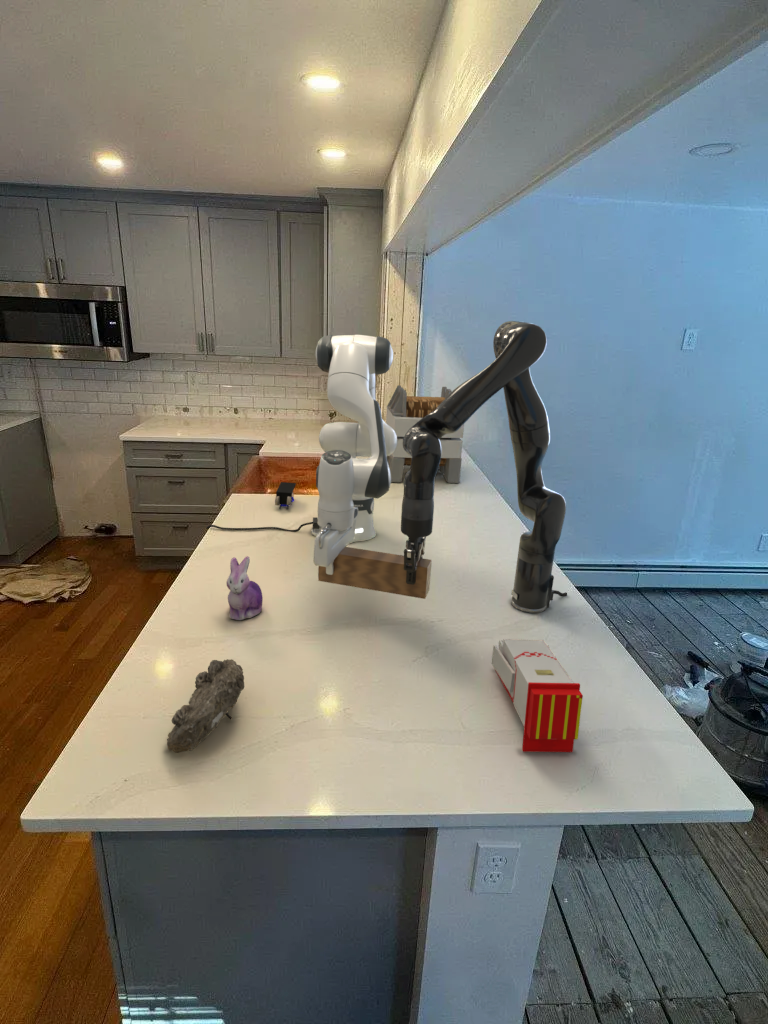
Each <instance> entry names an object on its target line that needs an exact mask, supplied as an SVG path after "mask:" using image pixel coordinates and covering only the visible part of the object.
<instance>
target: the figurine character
mask: <svg viewBox="0 0 768 1024" xmlns="http://www.w3.org/2000/svg"><path fill="white" fill-rule="evenodd" d="M296 485H297V483H296V482H286V481H285V482H284V481H280V483H279V486H278V487H277V490H276V491H275V497H274V498H275V499H274V506H278V509H279V510H282V507H285V508H286V510H288V509H289V507H290V506H292V503H294V502H295V499H294V497H295V493H294V490H295V487H296Z"/></svg>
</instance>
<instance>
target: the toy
mask: <svg viewBox="0 0 768 1024" xmlns="http://www.w3.org/2000/svg"><path fill="white" fill-rule="evenodd" d="M491 665H492V667H493V668H494V671H495V673H496V674H497V677H498V678H499V680H500V682H501V684H502V686H503V687H504V689H505V691H506V693H507V695H508V696H509V699H510V700H511V702H512V703H513V706H514V708H515V711H516V713H517V715H518V717H519V719H520V722H521V723H522V726H523V737H522V747H521V751H522V752H523V753H524V752H525V753H527V752H528V753H532V752H533V753H534V752H535V753H573V752H574V744H575V740H578V739H579V732H580V724H581V723H580V722H581V714H582V705H583V696H584V694H583V693H582V692H581V684H580V683H579V682H574V681H573V679H572V677H570V675H569V674H568V673H567V671H566V670H565V668H564V667H563V665H562V664H561V662H560V661H559V659H557V657H556V656H555V654H554V652H553V651H552V649H551V648H550V646H549V645H548V644H547V643H546V641H545V640H544V639H522V638H521V639H517V638H503V640H499V642H498V646H497V644H494V645H493V649H492V656H491Z"/></svg>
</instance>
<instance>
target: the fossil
mask: <svg viewBox="0 0 768 1024" xmlns="http://www.w3.org/2000/svg"><path fill="white" fill-rule="evenodd" d="M243 670H244V669H243V667H242V665H240V664H237V662H236V661H235V660H234V659H232V658H231V659H227V658H226V659H224V660H223V661H222V660H217V659H212V660H211V661H210V663H209V665H208V666H207V671H201V672H199V673H198V674H197V675H196V676H195V680H194V684H195V685H194V687H195V689H194V690H193V693H192V694H191V697H190V698H189V700H188V704H184V705H182V706H181V707H180V709H177V710H176V711H175V713H174V715H173V716H172V718H171V723H172V724H173V727H172V730H171V731H170V732H168V734H167V738H166V741H167V742H166V745H167V749H168V750H169V751H173V752H174V753H176V754H178V753H182V752H188V751H189V752H192V751H193V750H195V748H196V747H197V746H199V744H200V743H201V742H203V741H204V740H205V739H206V738H207V737H208V736H209V735H210V734H211V733H212V732H214V730H215V729H217V727H218V726H219V724H220V722H221V721H222V720H223V719H224V718H225V716H226V717H227V719H229V720H233V717H232V715H230V714H229V710H230V709H231V708H234V706H235V704H236V703H237V702H238V699H239V697H240V695H241V693H242V691H243V690H245V689H244V688H245V675H244V671H243Z"/></svg>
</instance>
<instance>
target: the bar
mask: <svg viewBox="0 0 768 1024" xmlns="http://www.w3.org/2000/svg"><path fill="white" fill-rule="evenodd" d="M415 558H416V557H415ZM432 562H433V560H432V559H428V558H424V557H423V558H420V560H419V561H418V562H417V570H416V582H415V584H414V585H412V584H407V583H406V573H407V570H404V554H403V555H402V554H396V553H390V552H382V551H377V550H376V551H375V550H369V549H363V548H358V547H357V548H356V547H350V546H346V547H344V548H343V550H342V551H341V552H340V553H339V554H338V556H337V557H336V558H335V559H334V562H333V566H335V572H334V573H333V574H332V575H329V574H326V567H323V566H318V567H317V570H318V572H317V574H318V576H317V577H318V579H317V581H318V582H323V583H328V584H335V585H342V586H346V587H352V588H358V589H365V590H369V591H376V592H382V593H387V594H393V595H400V596H405V597H412V598H415V599H416V598H417V599H423V600H426V598H427V596H428V594H429V593H430V592H429V591H430V587H431V575H432V574H431V573H432ZM409 565H412V564H409Z"/></svg>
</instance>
